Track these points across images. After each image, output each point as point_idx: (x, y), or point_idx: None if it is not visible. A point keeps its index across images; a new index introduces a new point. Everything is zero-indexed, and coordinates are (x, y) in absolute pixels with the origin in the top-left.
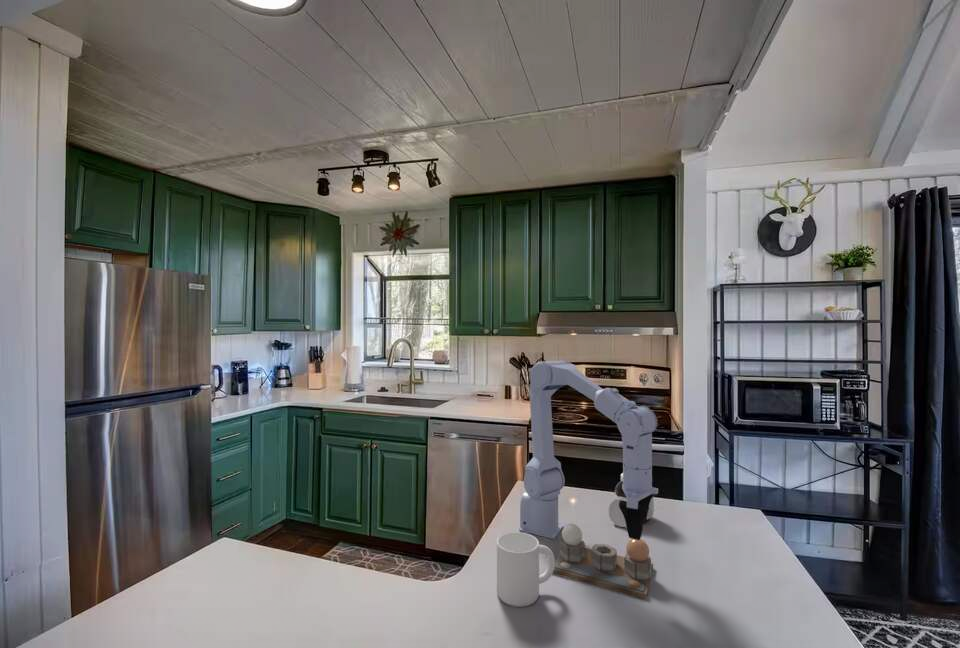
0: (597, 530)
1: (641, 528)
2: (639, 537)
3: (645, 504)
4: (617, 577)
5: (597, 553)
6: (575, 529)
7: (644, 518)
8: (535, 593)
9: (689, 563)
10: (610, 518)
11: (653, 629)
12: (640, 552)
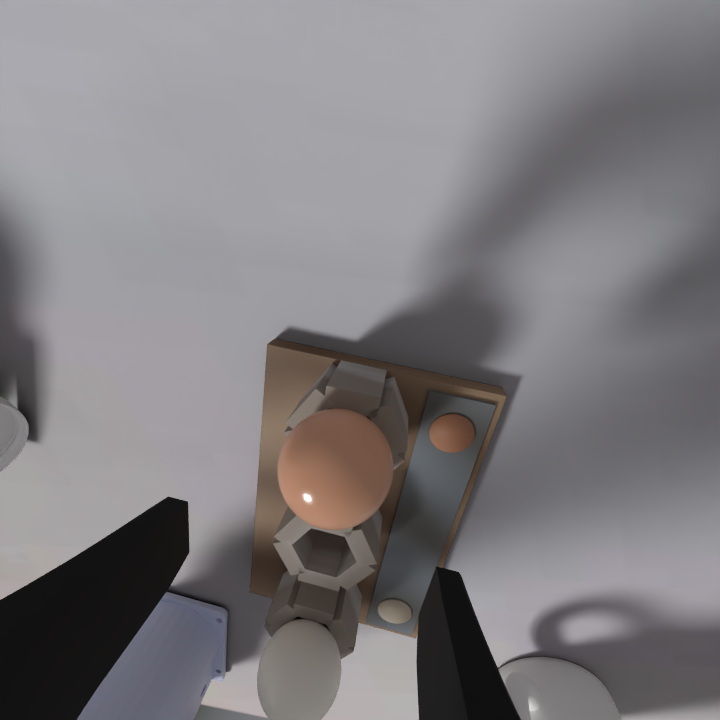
0: (99, 494)
1: (507, 693)
2: (466, 595)
3: (11, 690)
4: (420, 480)
5: (361, 575)
6: (309, 708)
7: (152, 541)
8: (593, 696)
9: (164, 176)
10: (5, 466)
11: (693, 383)
12: (390, 472)
